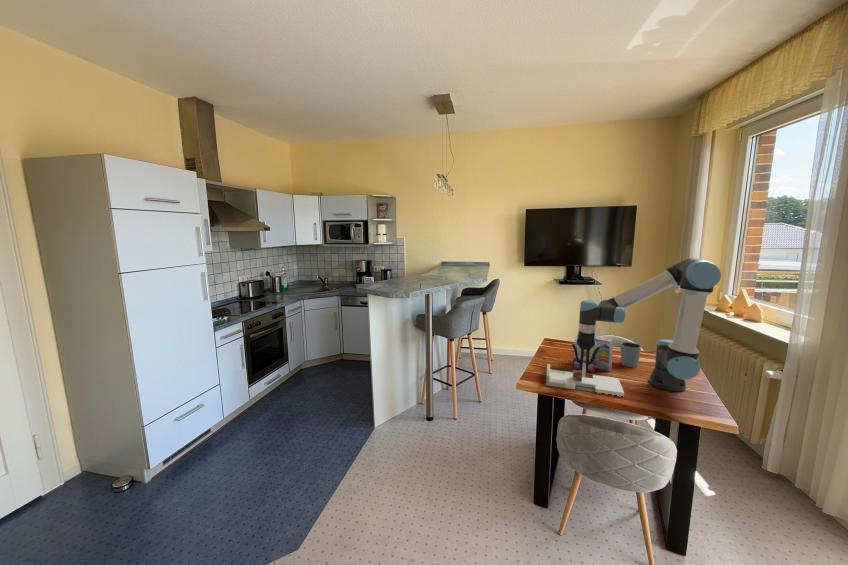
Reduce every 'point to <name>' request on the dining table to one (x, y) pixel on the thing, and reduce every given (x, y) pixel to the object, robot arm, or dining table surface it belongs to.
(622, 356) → the drinking glass
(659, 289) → the robot arm
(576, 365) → the candy bar box
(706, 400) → the dining table surface
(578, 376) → the walnut block
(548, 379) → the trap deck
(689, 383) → the dining table surface
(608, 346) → the cake pan box
